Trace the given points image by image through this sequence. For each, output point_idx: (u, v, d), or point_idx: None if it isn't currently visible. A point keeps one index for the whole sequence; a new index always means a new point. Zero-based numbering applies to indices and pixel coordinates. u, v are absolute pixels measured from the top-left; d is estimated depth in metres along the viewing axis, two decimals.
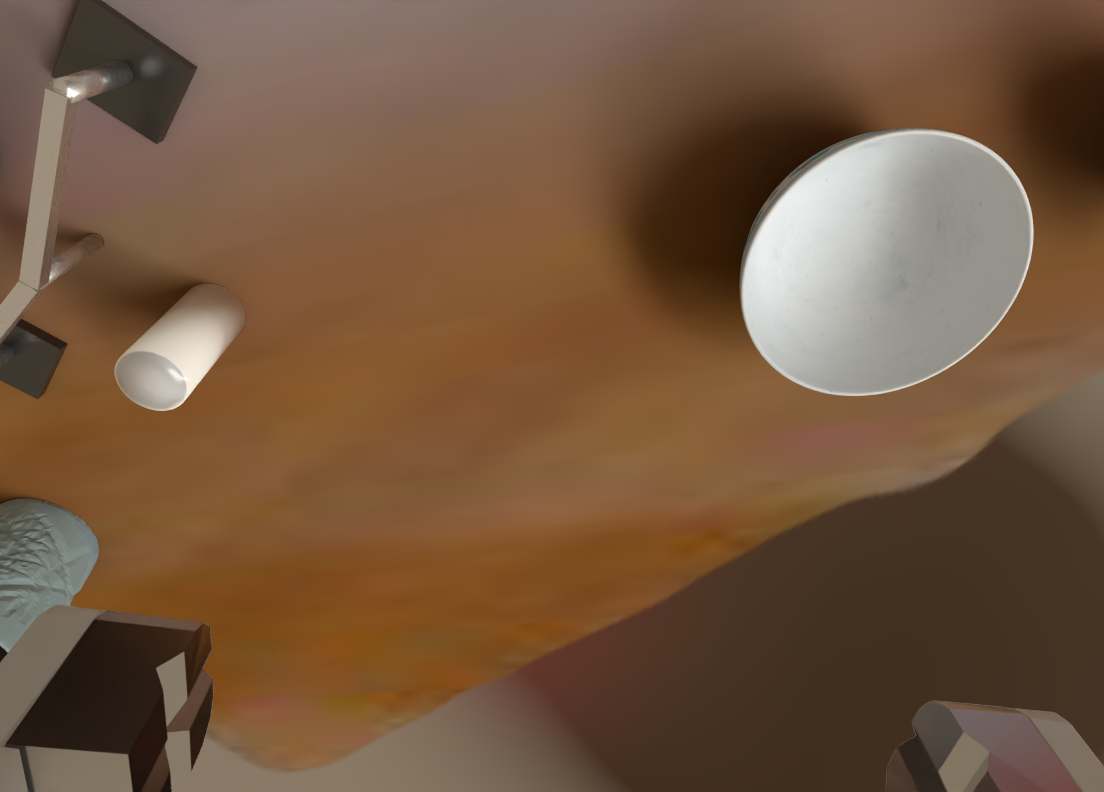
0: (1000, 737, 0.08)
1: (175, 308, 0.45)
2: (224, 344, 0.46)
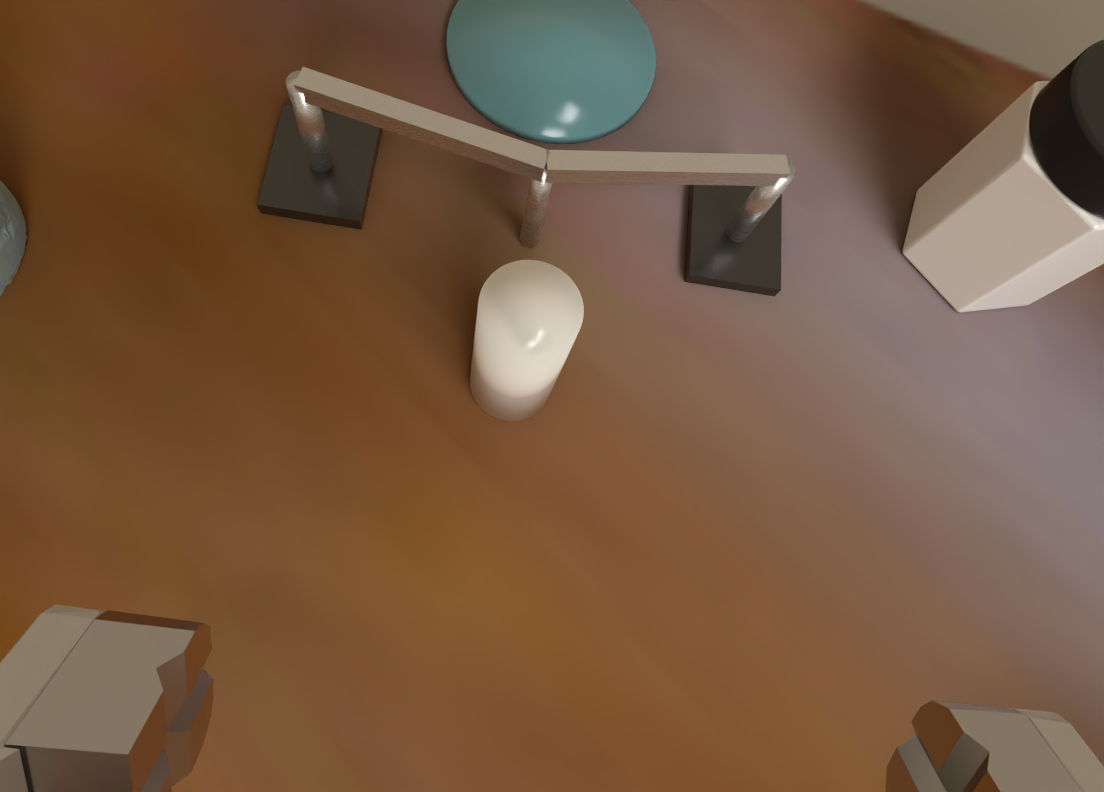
0: (1000, 737, 0.08)
1: None
2: (529, 398, 0.32)
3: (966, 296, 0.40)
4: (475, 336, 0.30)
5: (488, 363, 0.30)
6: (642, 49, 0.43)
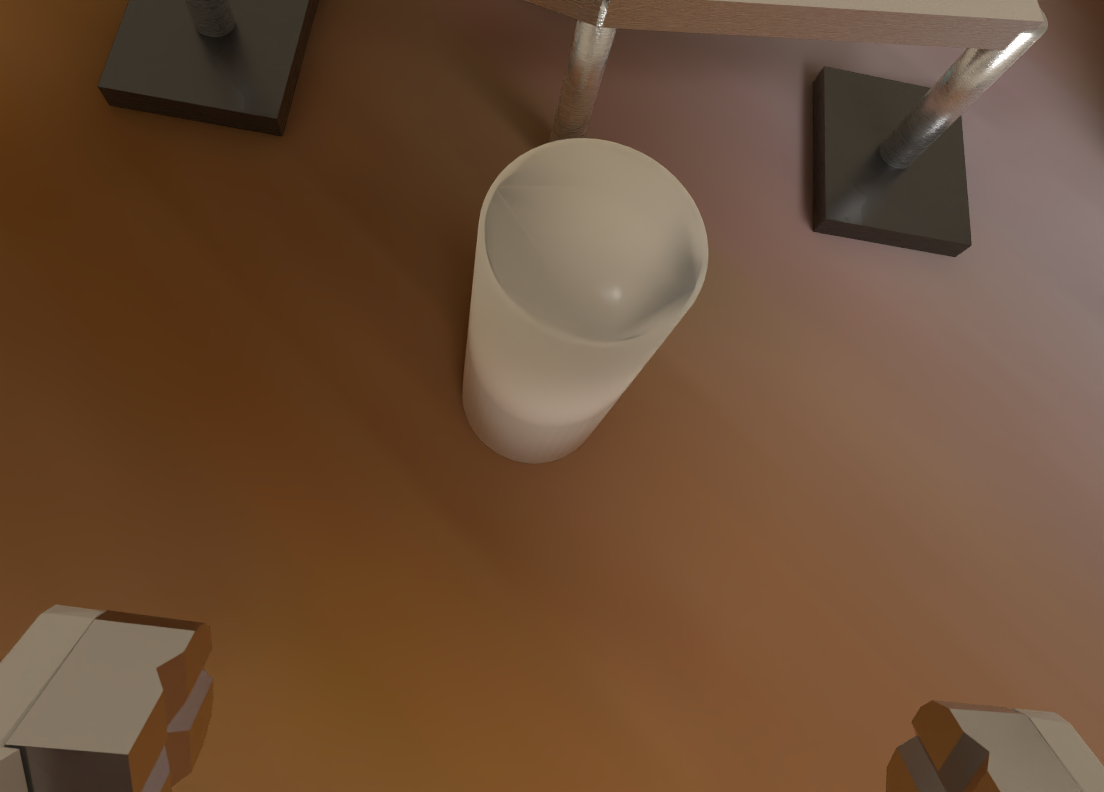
0: (1000, 737, 0.08)
1: None
2: (573, 427, 0.17)
3: None
4: (472, 306, 0.15)
5: (498, 360, 0.14)
6: None
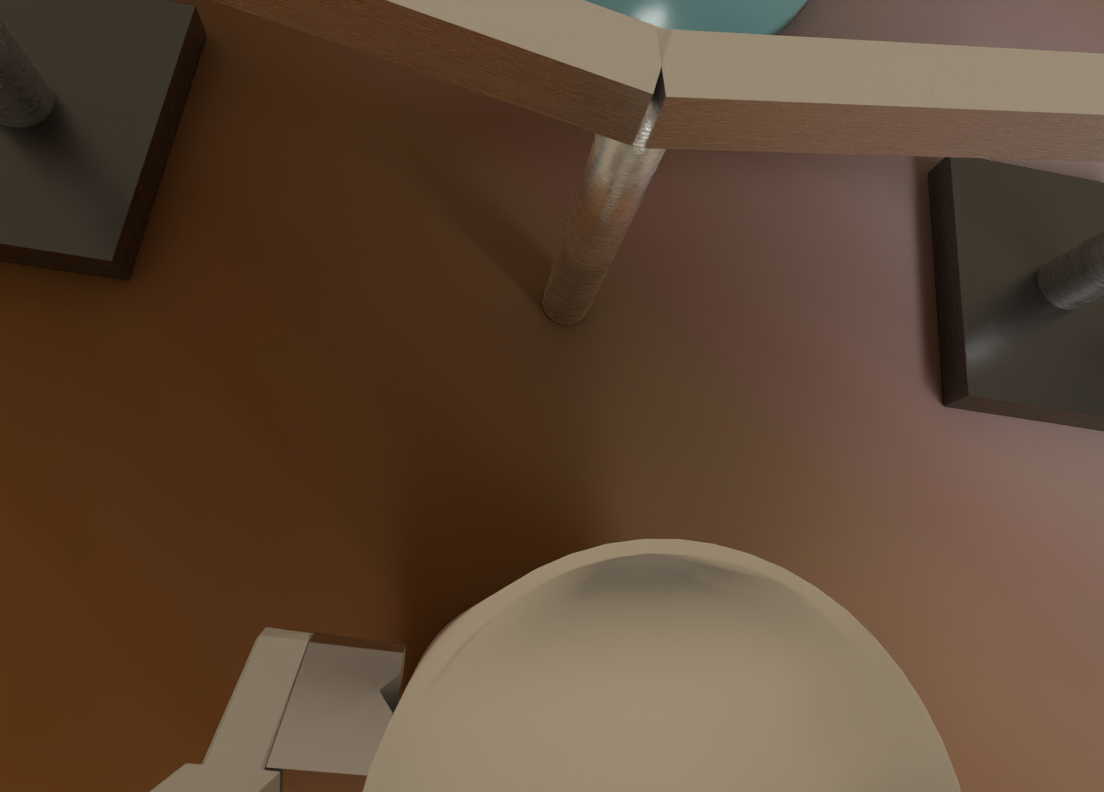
0: None
1: None
2: None
3: None
4: None
5: None
6: None
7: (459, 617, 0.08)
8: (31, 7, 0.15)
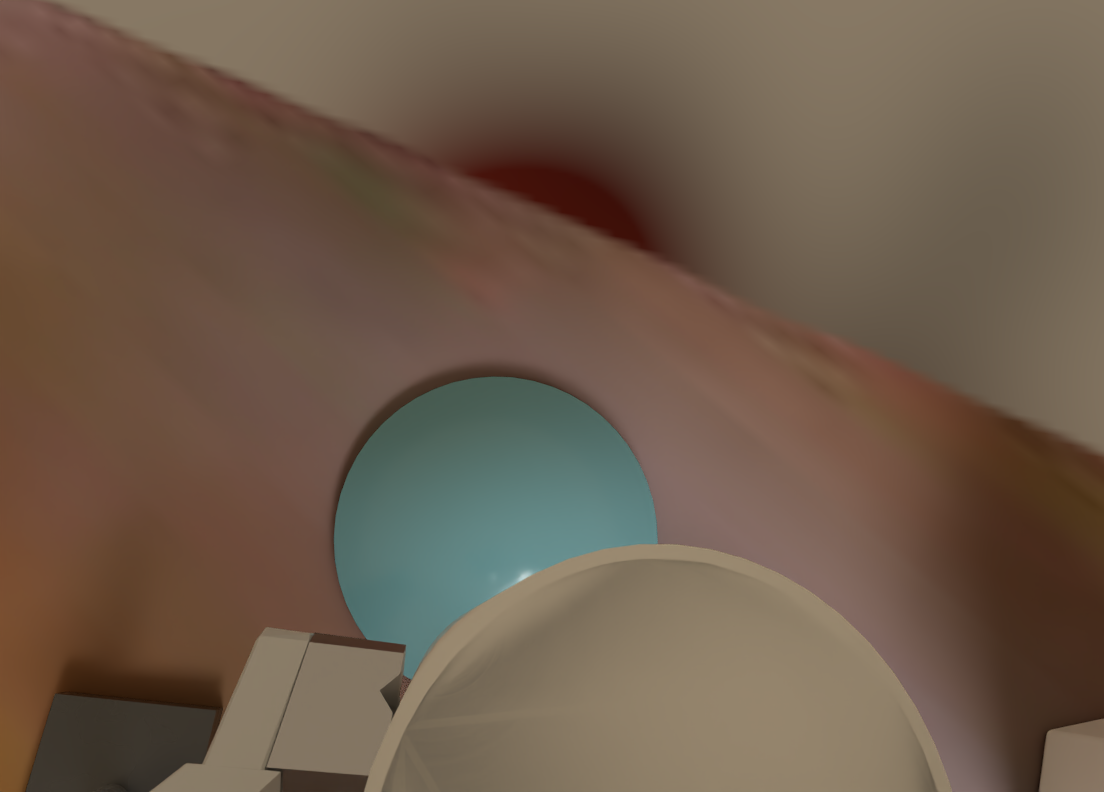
0: None
1: None
2: None
3: None
4: None
5: None
6: (636, 520, 0.28)
7: (459, 620, 0.08)
8: (113, 727, 0.24)
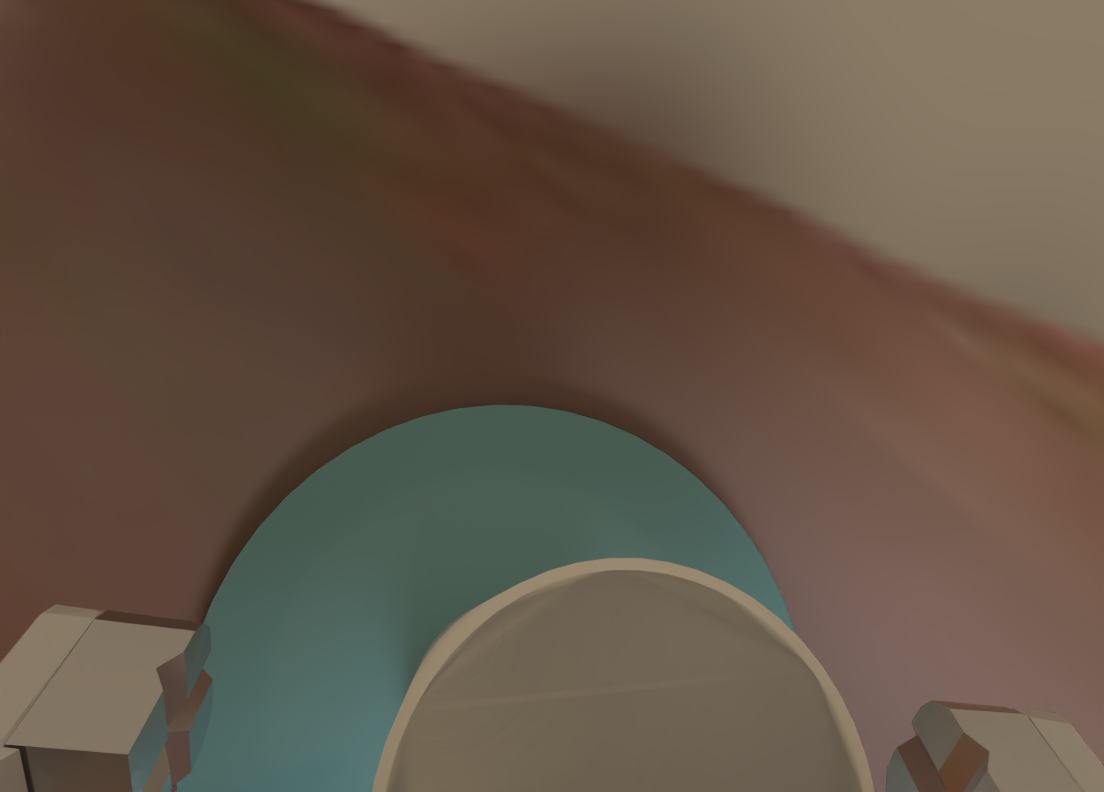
0: (1000, 737, 0.08)
1: None
2: None
3: None
4: None
5: None
6: None
7: (458, 620, 0.09)
8: None
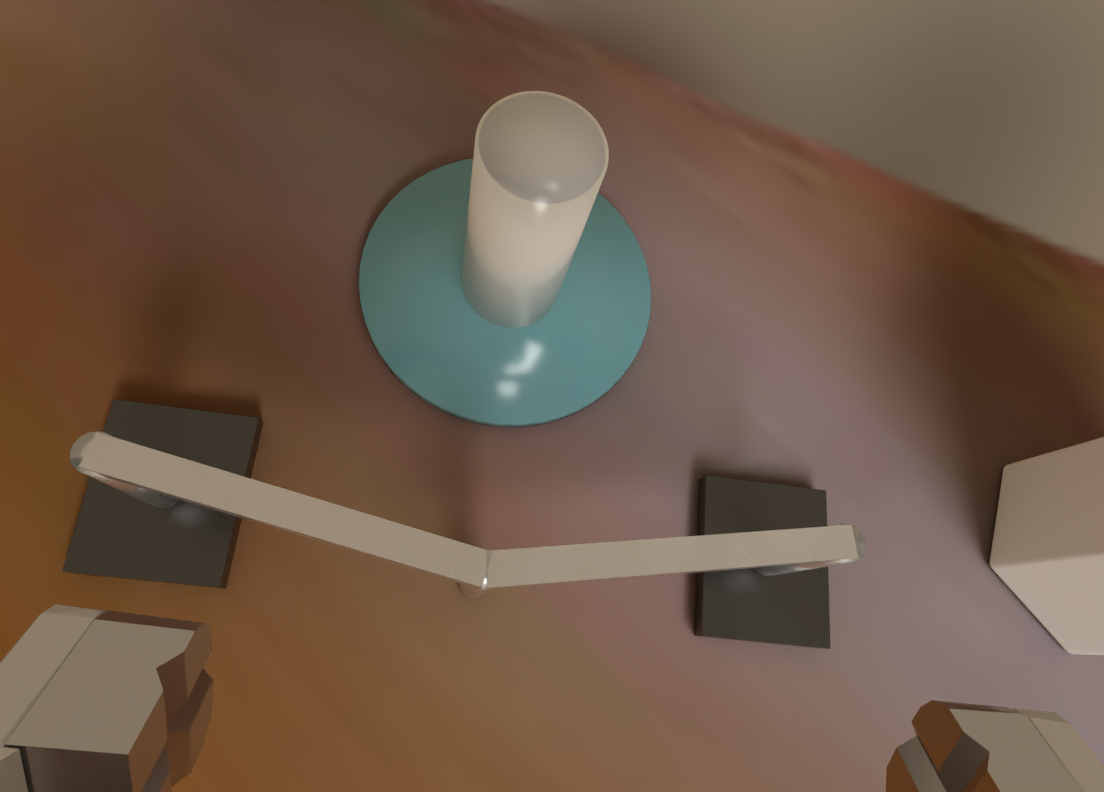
0: (1000, 737, 0.08)
1: None
2: (536, 286, 0.26)
3: (1085, 645, 0.29)
4: (470, 197, 0.24)
5: (487, 228, 0.24)
6: (631, 278, 0.31)
7: None
8: (166, 428, 0.26)
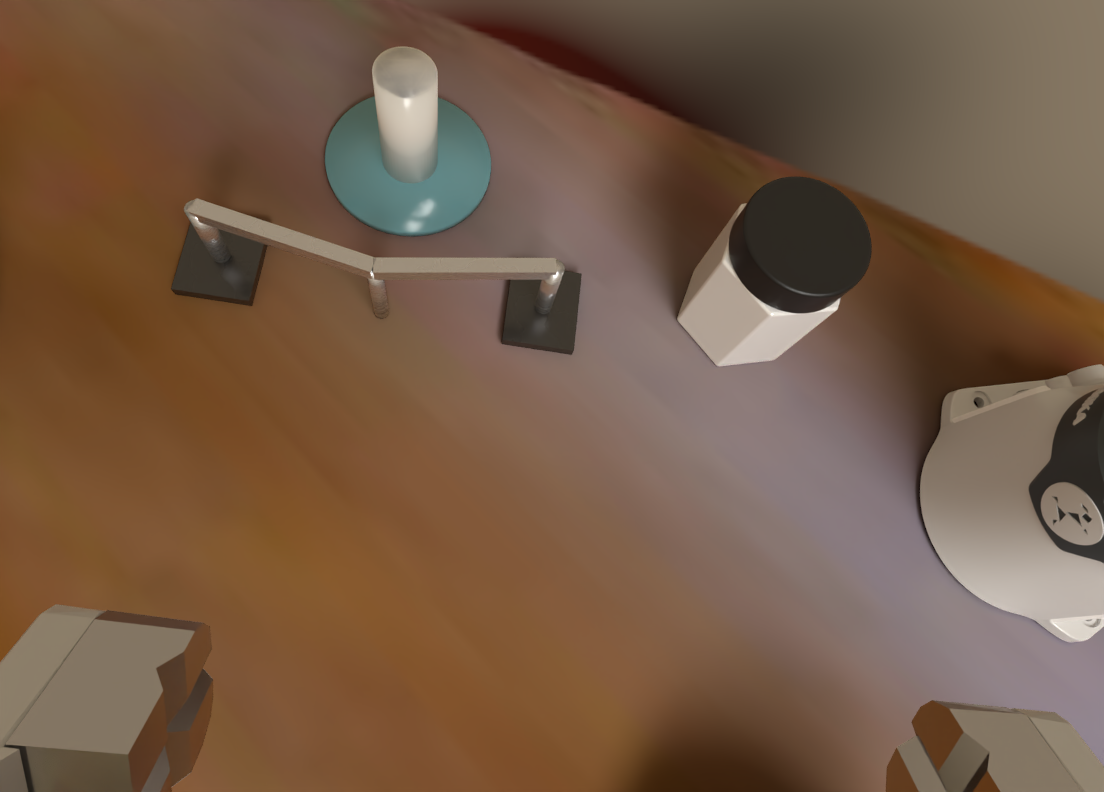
0: (1000, 737, 0.08)
1: None
2: (414, 152, 0.50)
3: (718, 355, 0.52)
4: (375, 101, 0.48)
5: (382, 115, 0.48)
6: (480, 160, 0.55)
7: None
8: None
